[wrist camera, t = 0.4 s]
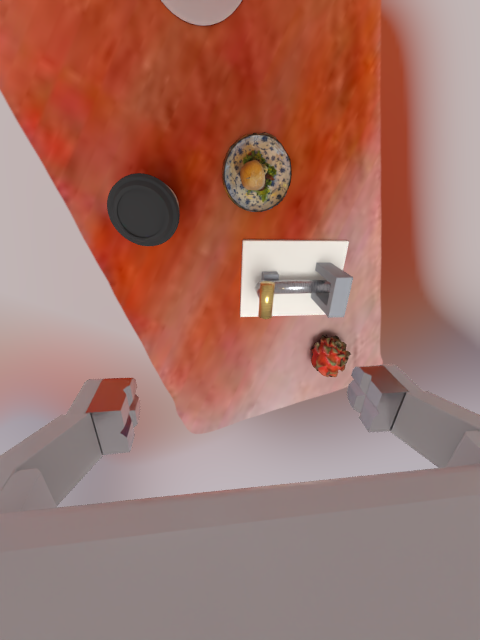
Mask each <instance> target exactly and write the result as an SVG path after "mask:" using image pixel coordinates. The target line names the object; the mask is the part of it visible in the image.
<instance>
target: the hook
mask: <svg viewBox="0 0 480 640" xmlns="http://www.w3.org/2000/svg"><path fill="white" fill-rule="evenodd" d="M330 289H331V283H330V282H329V281H327V280H262V281H259V283H257V284H256V285H255V291H256V293H257V295H258V297H259V311H258V316H259V317H260V318H263V319H269V318H271V317H272V309H273V299H274V294H301V293H330Z"/></svg>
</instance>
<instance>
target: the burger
mask: <svg viewBox="0 0 480 640" xmlns="http://www.w3.org/2000/svg"><path fill="white" fill-rule="evenodd" d="M222 178H223V184H224V187H225V190H226V192H227V194H228V196H229V198H230V199H231V200H232V201H233V202H234V203H235V204H236V205H237V206H239V207H240V208H242V209H244V210H247V211H252V212H262V211H265V210H269V209H271V208H273V207H274V206H276V205H278V204H279V203H280V202H281V201H282V200H283V198H284V197H285V195H286V193H287V190H288V188H289V186H290V182H291V162H290V158H289V156H288V154H287V153H286V151H285V149H284V148H283V146H282V144H281V143H280V142H279V141H278V140H277V139H276V137H274V136H273V135H271V134H268V133H265V132H264V133H260V134H257V133H253V134H251V135H249V134H248V135H245V136H243V137H241V138H240V139H239V140H237V141H236V142H235V143H234V144H233V145H232V146H231V148H230V149H229V151H228V153H227V155H226V157H225V160H224V164H223V168H222Z"/></svg>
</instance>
